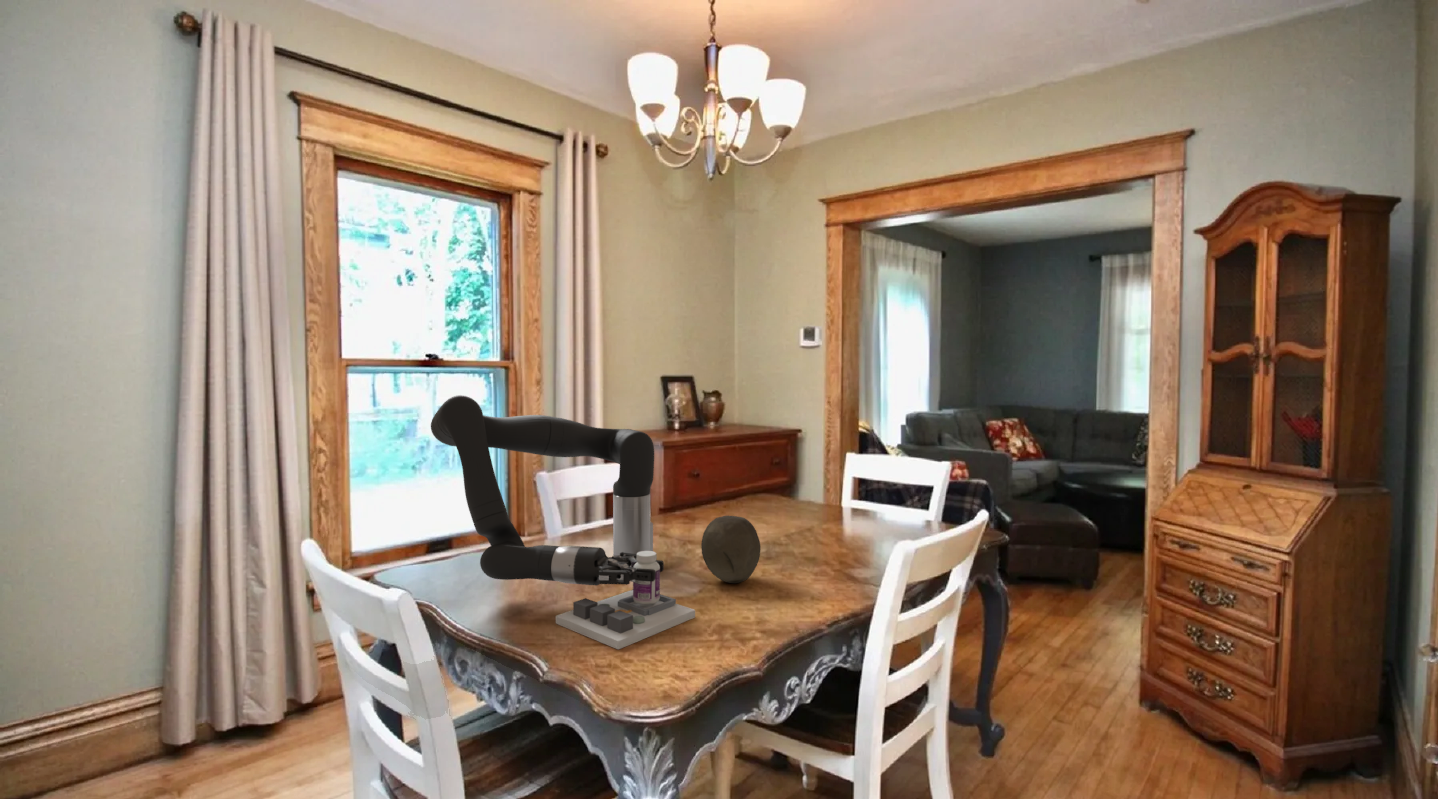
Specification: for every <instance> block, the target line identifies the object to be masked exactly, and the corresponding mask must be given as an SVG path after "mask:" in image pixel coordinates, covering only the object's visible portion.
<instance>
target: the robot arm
mask: <svg viewBox="0 0 1438 799" xmlns="http://www.w3.org/2000/svg"><path fill="white" fill-rule="evenodd" d="M483 413H484V412H483V410H482V408H481V406H480V404H479V403H478V402H477V401H476V400H474V399H473V398H472V397H470V396H467V395H461V394H460V395H454V396H451V397H449V398H448V399H446V400H445V401H444V402H443V403H442V405H441V406H440V407H439V408H438V410H437V411H436V412H435V413H434V415H433V417H432V419H431V423H430V429H431V433H432V435H433V436H434V438H435V439H436V440H437V441H439V442H440V443H442V444H443V445H447V446H449V447H456V449H457V452H458V455H459V459H460V463H461V468H462V474H463V475H462V476H463V477H462V478H463V486H464V487H463V488H464V493H465V501H466V504H467V508H468V511H469V514H470V517H471V520H472V522H473V525H474V526H473V527H474V528H475V531H476V532H477V535H479V536H482V537H483V538H484V537H485V539H487V541H488V543H489V545H490V546H489V547H487V548H486V549H485V550H483V552H482V554H481V556H480V560H479V565H480V569H481V571H482V573H483V574H485V575H486V576H487V577H489V578H492V579H493V580H494V579H495V580H503V581H504V580H505V581H507V580H528V579H531V580H539V581H540V580H541V581H549V582H550V581H552V582H559V583H564V584H574V585H585V586H595V587H596V586H599V585H624V586H625V585H630V583H631V582H632V583H633V582H635V581H636V580H638V581H651V582H653V581H654V580H655V570H654V569H640V568H637V569H636V568H633V567H634V565H635V563H637V562H638V561H637V560H636V558H637V553H638V552H641V551H654V523H653V522H652V521H651V487H652V484H653V481H654V476H655V474H654V471H655V445H654V442H653V440H652V437H650V436H649V434H647V433H645V432H643V431H640V430H635V429H630V428H604V427H603V428H602V427H594V426H590V425H587V424H583V423H581V422H578V421H574V420H571V419H567V418H561V417H557V416H551V415H543V414H527V415H526V414H525V415H516V416H515V415H514V416H507V417H505V416H504V417H502V416H501V417H497V416H496V417H495V416H489V415H484V414H483ZM489 448H491V449H492V448H493V449H498V450H499V449H500V450H506V451H512V452H517V453H518V452H519V453H527V454H533V455H539V456H546V457H553V458H557V457H558V458H576V457H589V458H590V457H591V458H597V459H601V460H605V461H609V462H613V463H616V464H618V465H619V477H618V479H617V480H616V481H615V482H614V483H613V485H612V487H613V488H612V489H613V490H612V501H613V502H612V508H613V509H612V510H613V511H612V513H613V514H612V516H613V517H612V521H613V522H612V526H613V528H612V530H613V531H612V532H613V533H612V534H613V537H612V539H613V540H612V542H613V543H612V544H613V546H612V547H613V548H612V552H613V553H612V554H613V555H612V556H610V557H609V556H607V554H606V551H605V549H604V548H602V547H598V546H597V547H595V546H581V545H547V544H546V545H545V544H541V545H534V546H525V543H524V542H523V539H522V538H521V536H520V534H519V533H518V531H517V528H515V526H514V524H513V522H512V521H511V520H510V517H509V514H508V510H507V507H506V504H505V501H504V499H503V495H502V492H501V490H500V487H499V483H498V481H497V478H496V473H495V470H494V466H493V463H492V458H491V454H490V449H489ZM656 562H657V563H658V564H659V566H660V573H661V572H663V571H664V570H665V569H664V568H665V565H664V561H663V560H658V559H656Z"/></svg>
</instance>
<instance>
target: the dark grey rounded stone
mask: <svg viewBox="0 0 1438 799" xmlns="http://www.w3.org/2000/svg"><path fill="white" fill-rule="evenodd" d="M700 548H701V554H702V558H703V562H704V563H705V565H706V567H707V568H708V570H709V571H710V572H711V574H713V575H714V576H715V577H716V578H718V579H719V580H721V581H722V582H725V583H728V584H738V583H742V582H745V581H746V580H748V579H749V578H750V577H751V576H752V574H753V573H754V572H755V571H756V568H757V566H758V564H759V562H760V561H759V560H760V556H761V542H760V538H759V536H758V532H757V530H756V527H755V526H754V525H753V524H752V523H751V522H750V520H748V519H747V518H746V517H743V516H737V515H736V516H735V515H722V516H719V517H715V518H714V519H712V520H711V521H710V522H709V524H708V525H707V526H706V528H705V529H704V532H703V534H702V538H701V546H700Z"/></svg>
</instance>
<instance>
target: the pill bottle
mask: <svg viewBox="0 0 1438 799" xmlns="http://www.w3.org/2000/svg"><path fill="white" fill-rule="evenodd" d="M657 558H658V556H657V552H656V551H654V550H653V551H641V552H638V553H637V558H636V560H637V561H638V562H637V563H635V565H634V567H633V568H636V569H637V568H640V569H654V570H655V580H654V581H653V582H651V581H638V580H636V581H635V582H632V590H633V600H634V601H635V602H636V603H638V604H654V603H656V602H658V601H659V599H660V594H661V572H660V566H659V564H658V563H657V562H656V560H658V559H657Z"/></svg>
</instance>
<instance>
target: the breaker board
mask: <svg viewBox="0 0 1438 799" xmlns="http://www.w3.org/2000/svg"><path fill="white" fill-rule="evenodd" d="M572 603H573V604H572V606H573V609H572V610H569V611H568V610H567V611H566V612H563V613H560V614H557V615H555V624H556V625H558V626H561V627H563V628H566V629H568V630H570V631H573V632H575V633H578V634H580V635H582V636H585V637H587V638H589V639H592V640H593V641H594V640H595V641H597V642H598V643H601V644H603V645H607V646H609V647H611V648H614V649H616V650H621V649H623V648H625V647H628V646H630V645H633V644H634V643H635V644H636V643H637V642H640V641H642V640H644V639H646V638H647V639H648V638H649V637H652V636H654V635H657V634H659V633H661V632H663V631H666V630H668V629H671V628H673V627H675V626H678V625H680V624H683V623H685V622H687V621H690V620H692V619H695V618H696V610H695V609H694V608H690V607H688V606H684V605H681V604H678V603H677V598H673V597H671V596H667V595H664V594H662V593H660V599H659V601H658V602H656V603H654V604H638V603H636V602H635V601H634V600H633V589H631V590H628V591H625V592H622V593H619V594H616V595H614V596H610V597H607V598H604V599H601V600H598V601H595V600H591V599H589V598H588V597H587V598H586V597H585V598H582V599H579V600H576V601H572Z"/></svg>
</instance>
